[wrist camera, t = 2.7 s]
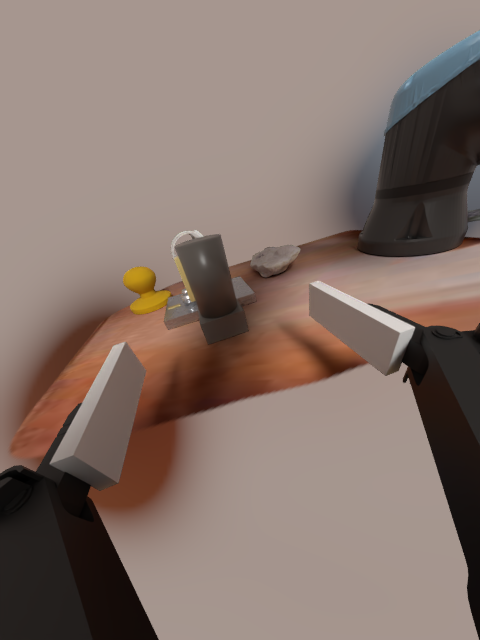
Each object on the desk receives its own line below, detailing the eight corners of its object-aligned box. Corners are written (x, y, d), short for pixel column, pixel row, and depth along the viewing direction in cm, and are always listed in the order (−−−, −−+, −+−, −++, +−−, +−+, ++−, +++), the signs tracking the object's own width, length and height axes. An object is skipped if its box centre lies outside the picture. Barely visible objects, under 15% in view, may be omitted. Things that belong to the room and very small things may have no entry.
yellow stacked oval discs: (125, 312, 36) (156, 293, 42) (148, 317, 32) (180, 295, 38) (102, 277, 32) (140, 261, 38) (125, 277, 28) (165, 259, 34)
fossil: (271, 269, 31) (240, 242, 36) (269, 295, 36) (242, 269, 41) (310, 249, 33) (275, 226, 38) (303, 277, 38) (273, 253, 43)
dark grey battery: (238, 312, 27) (218, 232, 21) (248, 330, 23) (227, 236, 17) (202, 323, 26) (171, 244, 20) (206, 345, 22) (168, 252, 16)
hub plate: (241, 283, 36) (237, 265, 34) (256, 301, 29) (252, 279, 27) (171, 304, 34) (163, 286, 33) (168, 329, 27) (156, 308, 25)
